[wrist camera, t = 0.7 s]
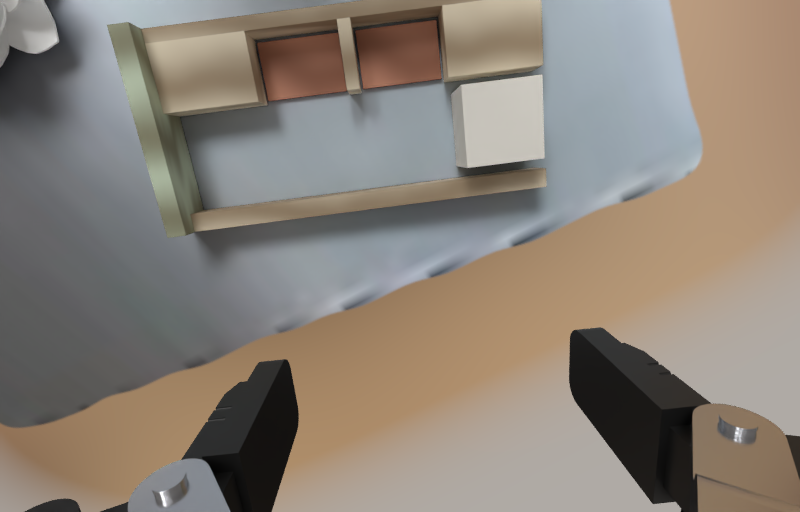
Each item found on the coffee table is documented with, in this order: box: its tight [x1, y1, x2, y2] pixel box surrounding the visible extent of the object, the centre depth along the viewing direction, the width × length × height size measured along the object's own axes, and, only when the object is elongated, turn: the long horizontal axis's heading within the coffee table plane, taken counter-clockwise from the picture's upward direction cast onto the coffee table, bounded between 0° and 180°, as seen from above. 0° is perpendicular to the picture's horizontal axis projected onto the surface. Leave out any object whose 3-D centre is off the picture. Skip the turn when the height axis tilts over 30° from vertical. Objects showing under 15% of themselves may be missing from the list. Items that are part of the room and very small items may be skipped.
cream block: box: [451, 75, 545, 168], centre depth 32 cm, size 6×6×5 cm
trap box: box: [107, 0, 546, 238], centre depth 31 cm, size 16×32×4 cm, turn 97°
